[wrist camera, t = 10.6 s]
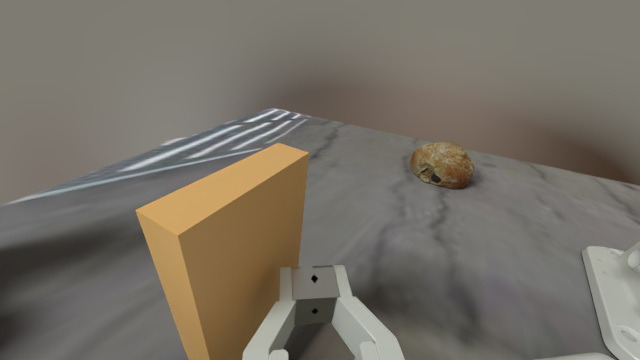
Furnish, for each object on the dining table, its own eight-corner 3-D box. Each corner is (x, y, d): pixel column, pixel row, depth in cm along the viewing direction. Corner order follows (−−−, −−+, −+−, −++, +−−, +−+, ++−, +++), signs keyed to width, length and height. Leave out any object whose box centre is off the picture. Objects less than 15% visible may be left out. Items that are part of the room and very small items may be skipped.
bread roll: (399, 188, 45) (405, 159, 38) (417, 152, 49) (426, 121, 43) (456, 209, 40) (474, 181, 34) (470, 168, 45) (488, 136, 39)
